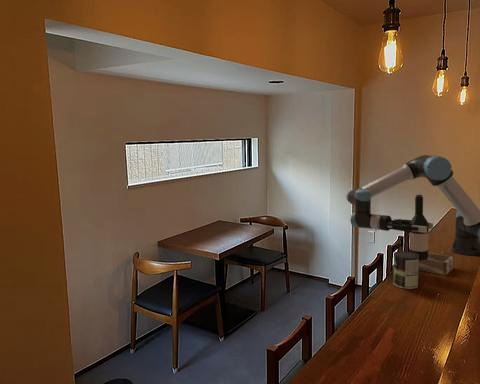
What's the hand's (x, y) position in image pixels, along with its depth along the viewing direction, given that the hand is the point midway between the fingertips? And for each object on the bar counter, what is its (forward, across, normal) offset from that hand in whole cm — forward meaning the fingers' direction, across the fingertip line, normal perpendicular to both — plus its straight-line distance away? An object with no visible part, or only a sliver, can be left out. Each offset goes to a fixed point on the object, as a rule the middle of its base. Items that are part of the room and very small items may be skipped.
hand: (429, 227), depth 181 cm
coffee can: (-5, +16, -24) cm, 29 cm away
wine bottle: (-5, 0, -15) cm, 16 cm away
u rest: (-1, -13, -24) cm, 27 cm away
